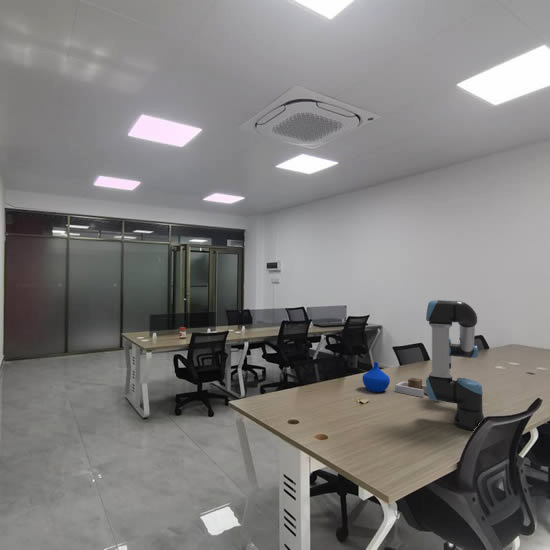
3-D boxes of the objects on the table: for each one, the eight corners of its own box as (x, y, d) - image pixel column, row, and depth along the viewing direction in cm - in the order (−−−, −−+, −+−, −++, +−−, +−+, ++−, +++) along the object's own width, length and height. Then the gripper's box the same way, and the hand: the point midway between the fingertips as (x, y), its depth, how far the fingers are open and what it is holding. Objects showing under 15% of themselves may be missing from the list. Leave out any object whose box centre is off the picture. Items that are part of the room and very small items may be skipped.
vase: (380, 395, 235) (380, 366, 235) (357, 389, 248) (357, 362, 249) (394, 390, 247) (394, 363, 247) (372, 385, 260) (372, 358, 261)
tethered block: (450, 398, 231) (449, 382, 232) (446, 400, 226) (446, 384, 226) (411, 390, 247) (411, 376, 248) (408, 392, 242) (408, 378, 242)
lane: (429, 392, 243) (429, 386, 243) (423, 397, 233) (423, 390, 233) (402, 387, 255) (402, 381, 255) (395, 391, 245) (395, 385, 245)
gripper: (442, 359, 240) (442, 394, 239) (434, 363, 227) (434, 400, 226) (454, 360, 235) (454, 396, 234) (447, 364, 222) (447, 402, 221)
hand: (444, 398), depth 230 cm, fingers closed on tethered block, 4 cm apart
